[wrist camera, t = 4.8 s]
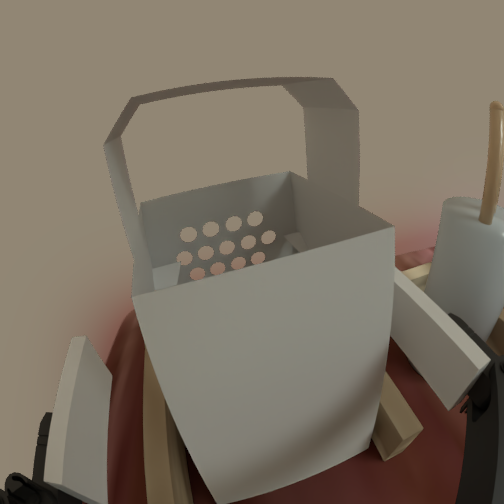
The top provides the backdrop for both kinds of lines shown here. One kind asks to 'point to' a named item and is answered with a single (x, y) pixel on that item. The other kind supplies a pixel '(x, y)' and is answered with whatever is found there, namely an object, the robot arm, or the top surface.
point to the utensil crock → (473, 247)
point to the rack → (173, 448)
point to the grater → (266, 304)
